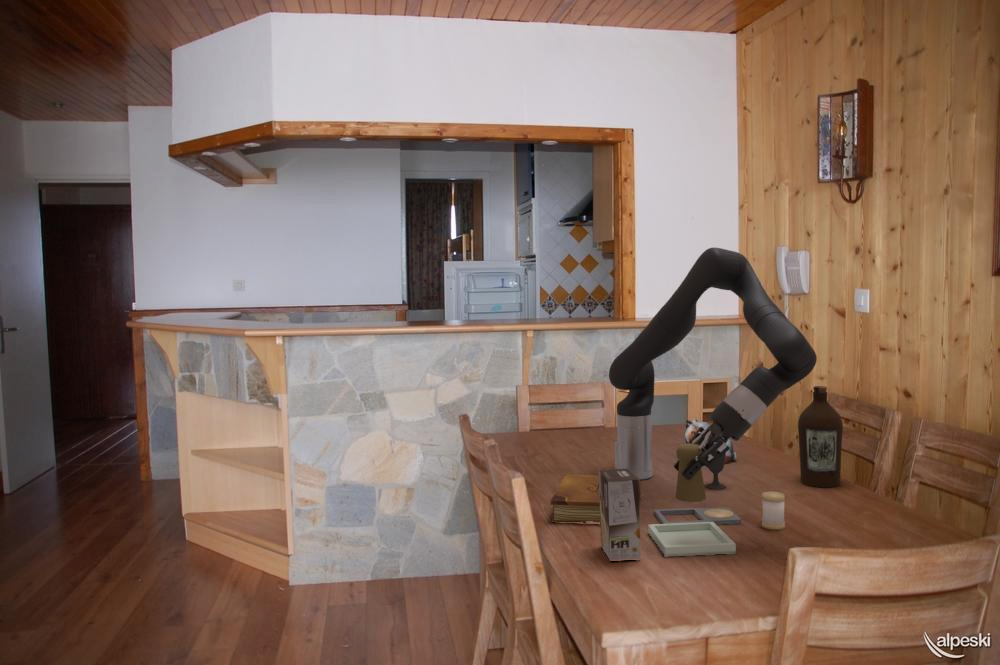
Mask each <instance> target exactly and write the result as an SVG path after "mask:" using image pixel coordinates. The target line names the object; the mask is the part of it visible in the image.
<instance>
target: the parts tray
mask: <svg viewBox="0 0 1000 665" xmlns="http://www.w3.org/2000/svg"><path fill="white" fill-rule="evenodd" d="M647 528H648V530H647V531H648V533H649V534H650V535H649V534H648V535H649V537H650V536H651V537H652V538H651V537H650V538H651V539H653V540H654V541H655V542H654V541H653V540H652V541H653V542H654V544H655V543H656V544H657V545H656V544H655V545H656V547H657V546H658V547H659V548H660V549H659V548H658V547H657V548H658V549H659V551H660V550H661V551H662V552H661V551H660V552H661V554H662V553H663V554H664V555H665V556H686V557H696V556H695V555H706V556H716V555H715V554H727V555H736V554H737V544H736V543H735V542H734V541H733V540H732V539H731V538H730V537H729V536H728V535H727V534H726V533H725V532H724V531H723V530H722V529H721V528H720V527H719V525H716V524H715V523H714V522H693V523H672V524H661V523H654V524H653V523H652V524H648V525H647ZM663 554H662V555H663ZM664 555H663V556H664ZM693 555H694V556H693Z"/></svg>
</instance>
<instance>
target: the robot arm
mask: <svg viewBox="0 0 1000 665" xmlns="http://www.w3.org/2000/svg"><path fill="white" fill-rule="evenodd" d="M710 288H711V289H712V288H713V289H718V290H724V291H730V292H732V293H733V294H735V295H736V296H737V297H738V298H739V299H741V302H743V304H742V313H743V314H742V315H743V317H744V320H745V321H746V323H747V325H748V326H749V328H751V330H752V331H753V332H754V334H755V335H756V336H757V337H758V339H760V340H761V342H763V343H764V345H765V346H766V348H767V349H768V351H770V353H771V354H772V356H773V358H774V359H775V360H776V361H777V363H776V364H774V366H772V367H770V368H767V367H765V366H756V367H755V368H754V369H753V370H752V371H751V372H749V374H748V375H747V376H746V377H745V378H744V379H743V380H742V381H741V382H740V383H739V384H738V386H736V387H735V388H734V389H733V390H731V391H730V392H729V393H728V395H726V397H724V399H723V400H722V401H721V402H720V403H719V404H718V405H717V406H716V407H715V408H714V409H713V410H712V411H711V413H710V414H709V416H708V418H709V420H710V421H711V422H712V423H711V424H709V425H710V426H709V427H708V428H707V429H704V428H703V427H700V428H699V429H698V430H697V432H696V433H695V434H694V435H693V437H692V438H691V439H690V441H689V442H688V443H690V444H697V445H699V448H698V450H699V452H698V454H697V455H696V456H695V458H694V460H695V461H694V460H692V461H691V462H690V463H689V464H688V465H687V466H686V467H685V468H684V469H683V470H682V471H681V474H682V475H683V476H684V477H685V478H686V479H687V480H690V479H691V478H692V477H693V476H694V475H695V474H696V473H697V472H698V471H699V470H700V469H701V470H702V468H703V469H704V468H705V467H706V468H707V469H708V468H709V467H710V466H711V465H712V464H713V463H715V462H716V461H717V460H718V459H719V458H720V457H721V456H723V455H724V454H725V453H726V452H727V451H728V450H729V449H730V447H729V446H728V445H727V444H726V443H727V441H728V439H730V440H733V441H735V442H738V441H739V440H740V439H741V438H742V437H744V435H745V434H746V433H747V432H748V430H750V429H751V427H752V426H753V425H754V424H755V423H756V422H757V421H758V420H759V419H760V418H761V417H762V415H763V414H764V413H765V411H766V410H767V408H768V407H770V406H771V404H772V403H773V402H774V401H775V400H776V399H777V398H778V397H779V395H780V394H781V393H783V392H784V391H787V390H788V389H790V388H791V387H792V386H794V385H796V384H798V383H799V382H800V381H802V380H804V379H805V378H806V377H807V376H808V375H810V374H811V372H812V371H813V370H814V368H815V366H816V363H817V353H816V351H815V349H813V347H812V346H811V344H810V342H809V341H808V340H807V339H806V337H805V335H804V334H803V333H802V332H801V331H800V329H799V328H798V327H797V326H795V324H793V322H791V321H790V320H789V319H788V317H787V316H786V315H785V314H784V313H783V312H782V311H781V309H780V308H779V306H777V304H775V302H774V301H773V300H772V299H771V297H770V296H769V295H768V293H767V292H766V290H765V288H764V287H763V284H762V283H761V281H760V280H759V277H758V276H757V274H756V272H755V270H754V269H753V267H752V265H751V263H750V261H749V260H748V259H747V257H746V256H745V255H743V254H742V253H740V252H737V251H735V250H728V249H725V248H721V247H710V248H707V249H705V250H704V251H703V252H702V253H701V255H699V256H698V258H697V259H696V261H695V262H694V264H693V265H692V266H691V268H690V269H689V271H688V273H687V275H686V276H685V277H684V279H683V280H682V282H680V285H678V287H677V289H676V290H675V291H674V292H673V294H672V295H671V296H670V297H669V299H668V300H667V301H666V302H665V304H663V306H662V307H661V308H660V309H659V310H658V312H656V314H655V315H654V316H653V317H652V318H651V320H650V321H649V322H648V324H647V325H646V326H645V327H644V329H643V330H642V331H641V332H640V333H639V334H638V336H637V337H636V338H635V339H634V340H633V341H632V342H631V343H630V344H629V345H628V346H627V347H626V348H625V349H624V350H623V351H622V352H621V353H619V354H618V355H617V356H616V357H615V359H613V361H612V362H611V365H610V367H609V371H608V378H609V381H610V384H611V385H612V386H613V387H614V388H616V389H617V390H622V391H628V393H627V395H626V396H625V397H623V399H622V400H621V401H619V402H618V403H617V404H616V422H617V423H616V428H617V429H616V431H617V439H616V440H615V441H614V469H629V470H630V471H631V472H632V473H633V474H634V475H635V476H636V477H638V478H639V479H640V480H647V479H651V477H653V443H652V442H653V437H652V436H653V435H652V407H653V405H654V401H655V400H654V399H655V367H654V364H653V361H654V360H656V359H657V358H659V357H661V356H662V355H665V354H666V353H667V352H668V353H669V351H671V350H673V349H674V348H675V347H677V346H678V345H679V344H681V342H682V341H683V340H684V339H685V338H686V337H687V336H688V334H689V333H690V332H692V330H693V328H694V326H695V324H696V321H697V320H696V319H697V303H698V300H700V299H701V297H702V296H703V294H705V292H706V291H707V290H709V289H710ZM688 443H687V444H688ZM710 459H711V460H710ZM673 468H674V469H675V470H676V471H677V472H678V469H679V459H677V461H676V462H675V463H674V465H673Z"/></svg>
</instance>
